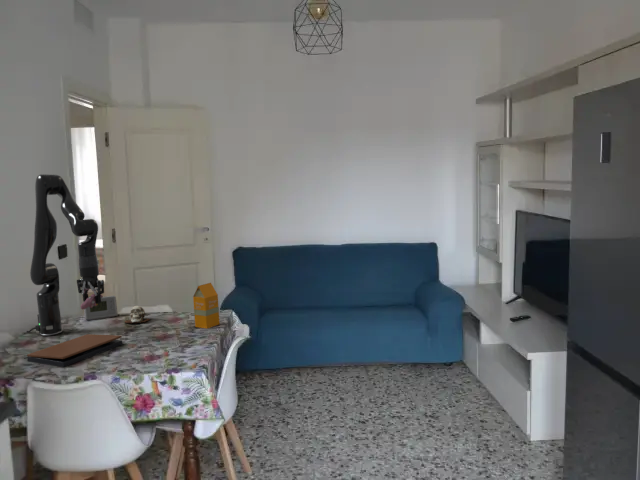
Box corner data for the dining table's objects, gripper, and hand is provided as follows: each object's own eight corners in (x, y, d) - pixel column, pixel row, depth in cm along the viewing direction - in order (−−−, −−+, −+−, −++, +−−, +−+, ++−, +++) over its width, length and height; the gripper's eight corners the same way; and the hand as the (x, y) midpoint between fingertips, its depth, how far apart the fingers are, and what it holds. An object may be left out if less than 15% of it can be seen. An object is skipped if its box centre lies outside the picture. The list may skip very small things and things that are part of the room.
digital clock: (83, 321, 289) (81, 300, 287) (86, 317, 297) (84, 297, 296) (116, 318, 292) (115, 297, 291) (119, 314, 301) (117, 294, 300)
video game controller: (87, 313, 243) (93, 298, 241) (78, 308, 243) (84, 294, 242) (100, 307, 252) (106, 293, 251) (92, 303, 253) (97, 289, 251)
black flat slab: (122, 344, 245) (122, 340, 245) (63, 367, 218) (63, 362, 218) (87, 339, 254) (87, 335, 254) (27, 361, 228) (27, 356, 227)
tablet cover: (121, 337, 244) (121, 335, 244) (63, 359, 218) (62, 357, 218) (87, 336, 254) (87, 334, 254) (27, 356, 227) (26, 354, 227)
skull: (148, 321, 277) (132, 307, 276) (133, 336, 278) (118, 321, 277) (154, 314, 289) (139, 301, 288) (140, 328, 290) (126, 315, 289)
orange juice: (219, 324, 272) (217, 283, 269) (207, 328, 264) (204, 286, 262) (207, 322, 276) (205, 281, 273) (194, 326, 268) (191, 285, 266)
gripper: (107, 264, 246) (111, 302, 247) (83, 263, 252) (87, 300, 254) (94, 267, 239) (97, 306, 241) (69, 266, 245) (73, 304, 247)
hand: (92, 303), depth 247 cm, fingers closed on video game controller, 6 cm apart
